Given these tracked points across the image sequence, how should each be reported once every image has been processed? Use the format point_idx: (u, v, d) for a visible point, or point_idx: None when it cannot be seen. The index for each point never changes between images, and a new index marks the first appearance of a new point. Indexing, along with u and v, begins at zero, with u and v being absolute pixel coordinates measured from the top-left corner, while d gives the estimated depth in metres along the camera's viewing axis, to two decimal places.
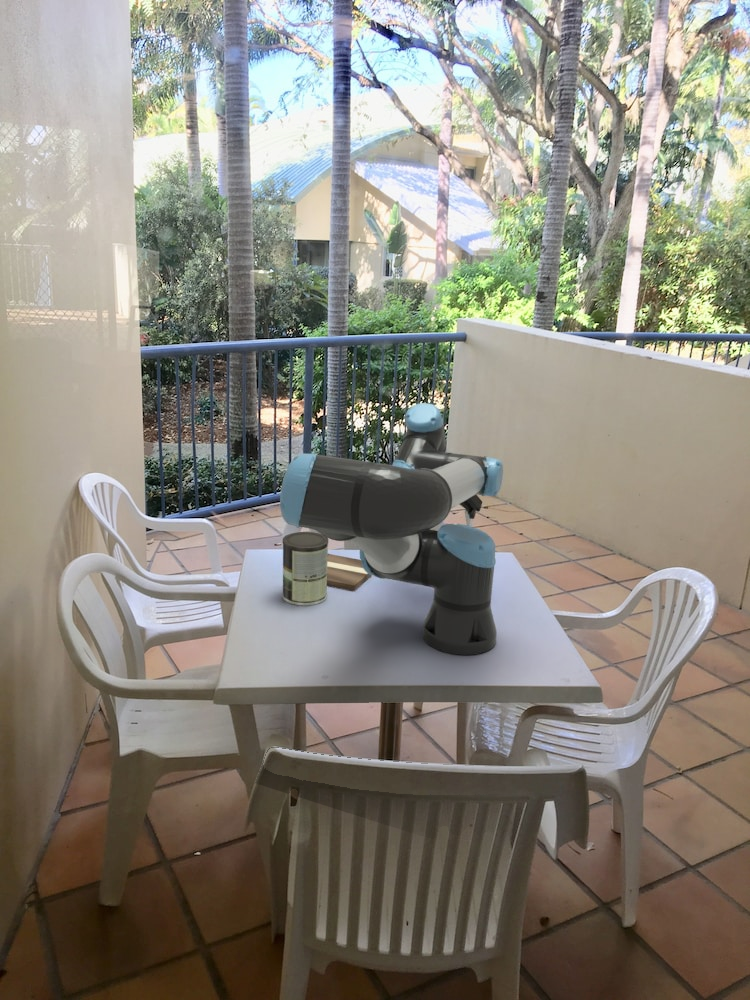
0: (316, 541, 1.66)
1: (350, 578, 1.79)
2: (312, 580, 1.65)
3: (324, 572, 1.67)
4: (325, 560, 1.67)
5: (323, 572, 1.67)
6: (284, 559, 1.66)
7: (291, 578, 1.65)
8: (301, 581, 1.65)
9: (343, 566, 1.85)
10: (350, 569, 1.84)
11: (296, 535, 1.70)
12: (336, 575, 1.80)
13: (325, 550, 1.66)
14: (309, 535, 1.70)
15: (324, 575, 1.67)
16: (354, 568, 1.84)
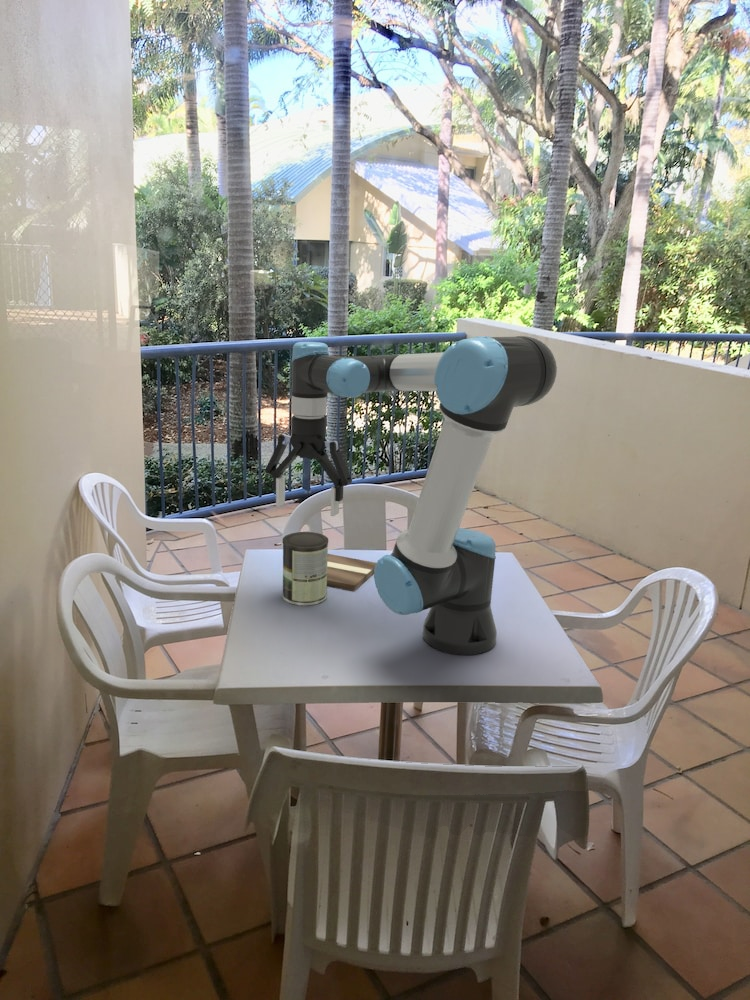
0: (316, 541, 1.66)
1: (350, 578, 1.79)
2: (312, 580, 1.65)
3: (324, 572, 1.67)
4: (325, 560, 1.67)
5: (323, 572, 1.67)
6: (284, 559, 1.66)
7: (291, 578, 1.65)
8: (301, 581, 1.65)
9: (343, 566, 1.85)
10: (350, 569, 1.84)
11: (296, 535, 1.70)
12: (336, 575, 1.80)
13: (325, 550, 1.66)
14: (309, 535, 1.70)
15: (324, 575, 1.67)
16: (354, 568, 1.84)
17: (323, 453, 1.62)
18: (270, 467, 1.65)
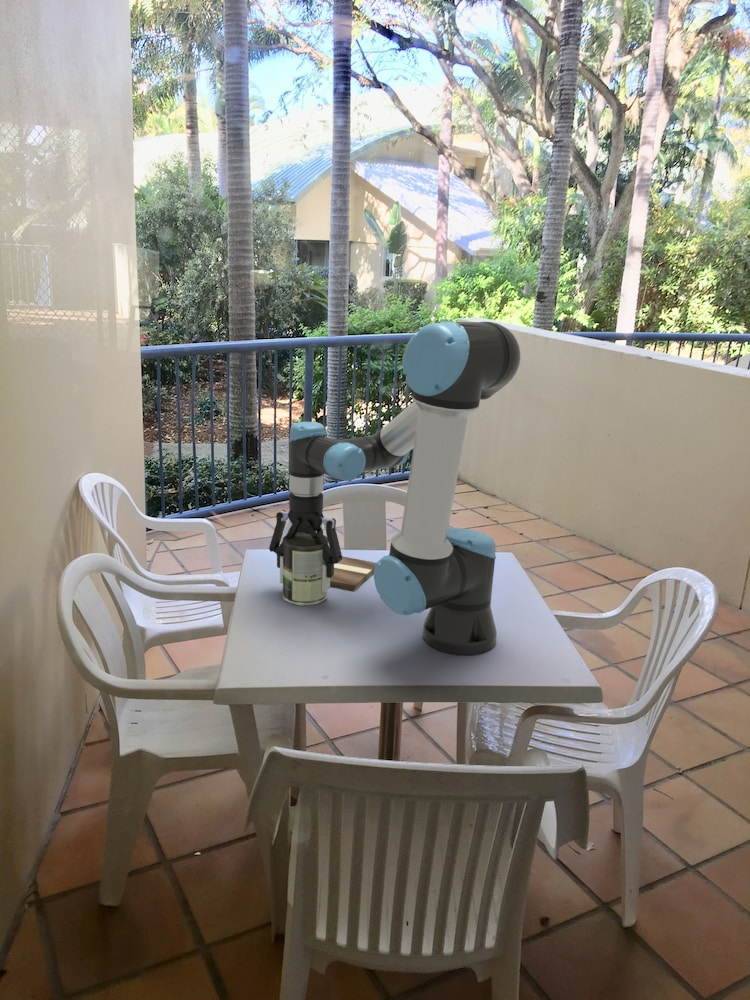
0: None
1: (350, 578, 1.79)
2: (313, 580, 1.65)
3: None
4: None
5: None
6: (284, 559, 1.66)
7: (291, 578, 1.65)
8: (301, 581, 1.65)
9: (343, 566, 1.85)
10: (350, 569, 1.84)
11: (296, 535, 1.70)
12: (336, 575, 1.80)
13: None
14: (309, 535, 1.70)
15: None
16: (354, 568, 1.84)
17: (320, 528, 1.66)
18: (273, 545, 1.69)
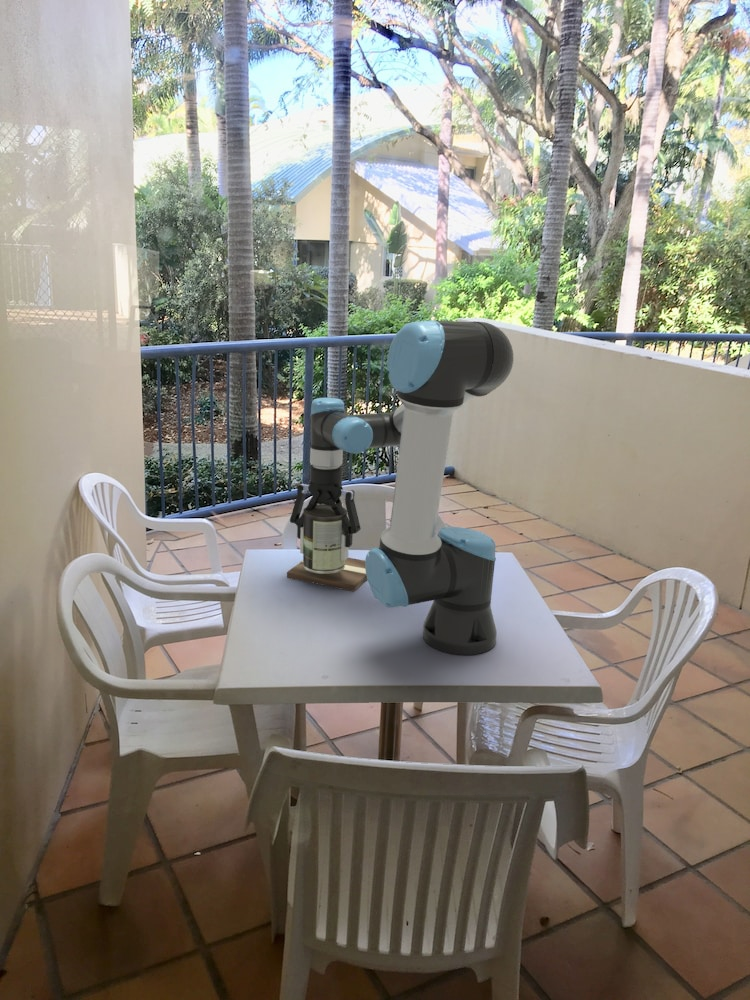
0: None
1: (350, 578, 1.79)
2: (332, 549, 1.73)
3: None
4: None
5: None
6: (305, 529, 1.74)
7: (312, 547, 1.73)
8: (321, 550, 1.73)
9: None
10: (350, 569, 1.84)
11: (316, 507, 1.78)
12: (336, 575, 1.80)
13: None
14: (328, 507, 1.78)
15: None
16: (354, 568, 1.84)
17: (339, 499, 1.74)
18: (294, 516, 1.77)
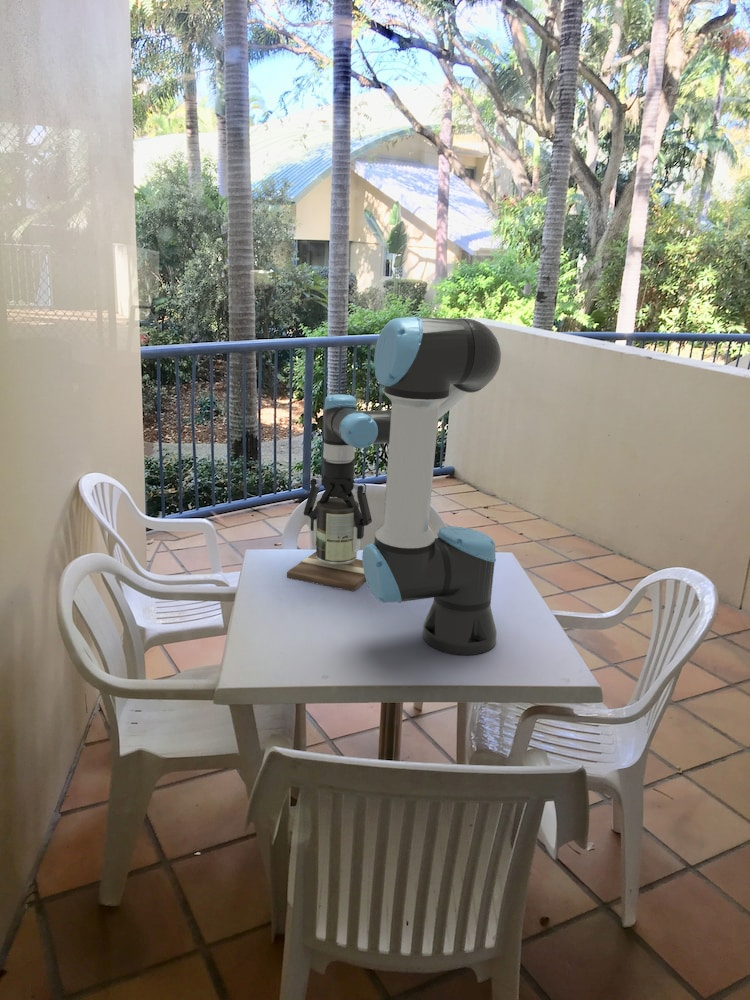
0: None
1: (350, 578, 1.79)
2: (344, 541, 1.79)
3: None
4: None
5: None
6: (318, 522, 1.80)
7: (325, 539, 1.79)
8: (334, 542, 1.79)
9: (343, 566, 1.85)
10: (350, 569, 1.84)
11: (328, 500, 1.84)
12: (336, 575, 1.80)
13: None
14: (340, 500, 1.84)
15: None
16: (354, 568, 1.84)
17: (351, 493, 1.80)
18: (308, 509, 1.83)
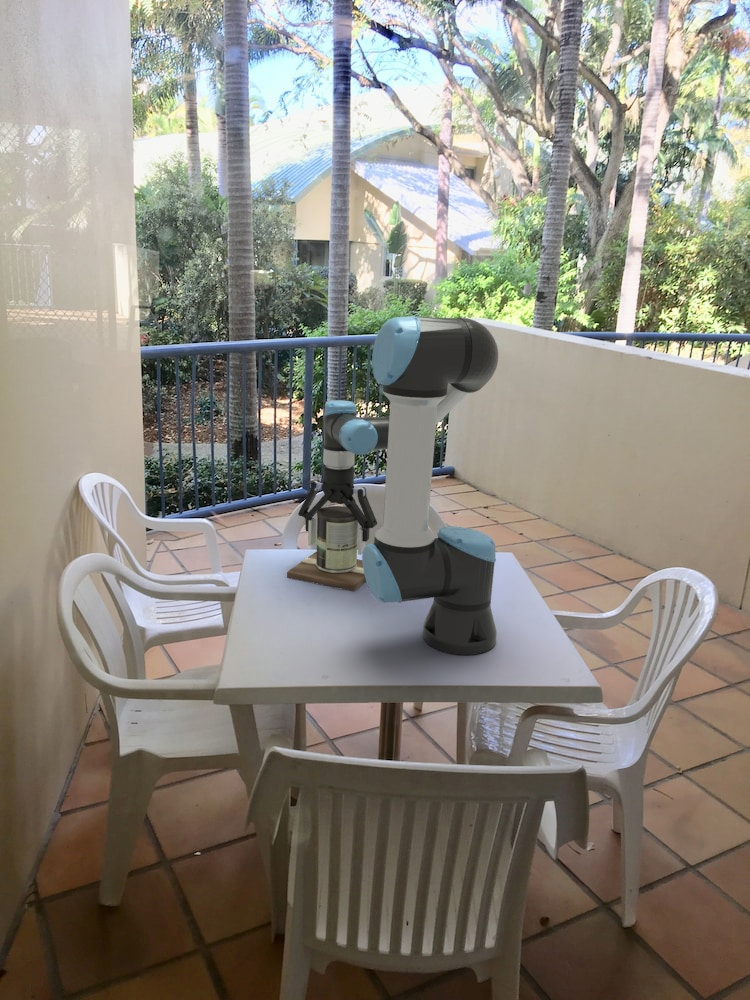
0: (348, 514, 1.81)
1: (350, 578, 1.79)
2: (345, 550, 1.80)
3: (355, 542, 1.82)
4: (356, 531, 1.81)
5: (354, 543, 1.81)
6: (318, 530, 1.81)
7: (325, 547, 1.80)
8: (334, 550, 1.79)
9: None
10: None
11: (329, 508, 1.85)
12: (336, 575, 1.80)
13: (356, 522, 1.80)
14: (341, 509, 1.85)
15: (355, 545, 1.82)
16: None
17: (351, 498, 1.81)
18: (303, 510, 1.84)
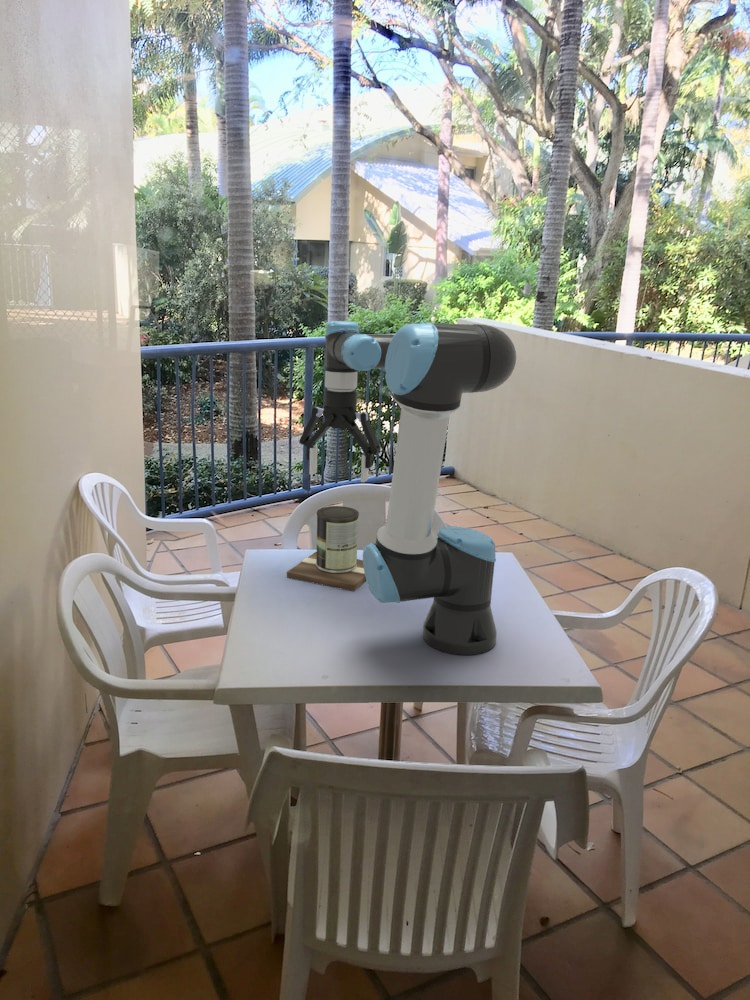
0: (348, 514, 1.81)
1: (350, 578, 1.79)
2: (344, 550, 1.80)
3: (355, 543, 1.82)
4: (356, 531, 1.81)
5: (354, 543, 1.81)
6: (318, 530, 1.81)
7: (325, 547, 1.80)
8: (334, 551, 1.79)
9: None
10: None
11: (329, 508, 1.85)
12: (336, 575, 1.80)
13: (356, 522, 1.80)
14: (341, 509, 1.85)
15: (354, 545, 1.82)
16: None
17: (354, 424, 1.76)
18: (304, 438, 1.79)
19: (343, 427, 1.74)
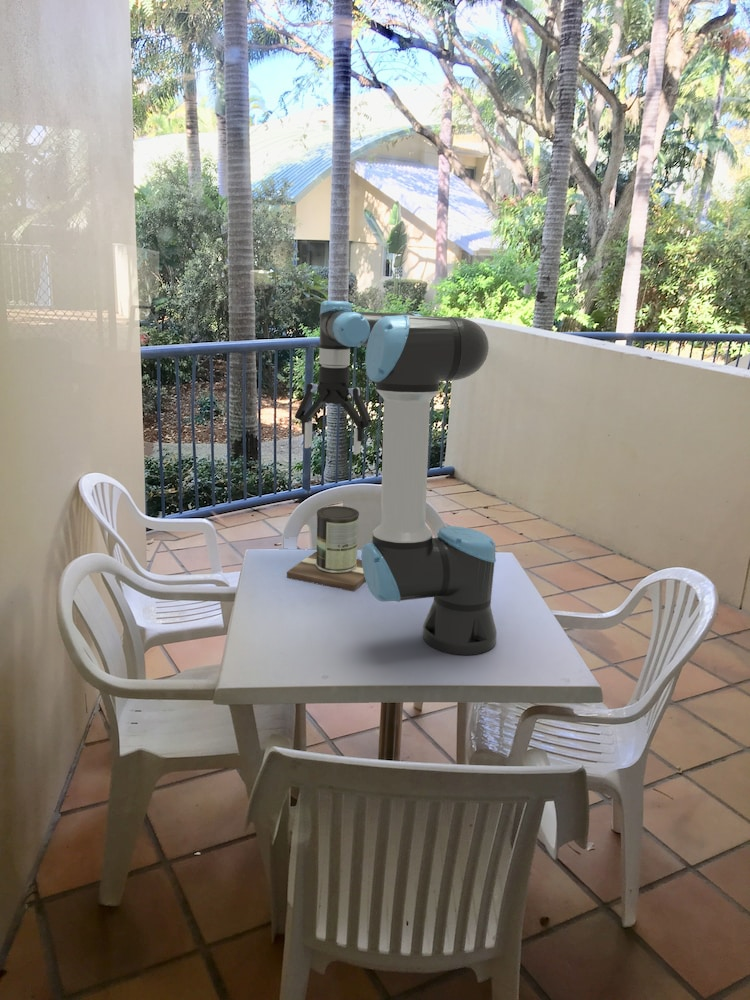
0: (348, 514, 1.81)
1: (350, 578, 1.79)
2: (344, 550, 1.80)
3: (355, 543, 1.82)
4: (356, 531, 1.81)
5: (354, 543, 1.81)
6: (318, 530, 1.81)
7: (325, 547, 1.80)
8: (334, 551, 1.79)
9: None
10: None
11: (329, 508, 1.85)
12: (336, 575, 1.80)
13: (356, 522, 1.80)
14: (341, 509, 1.85)
15: (354, 545, 1.82)
16: None
17: (346, 399, 1.85)
18: (299, 413, 1.88)
19: (336, 402, 1.83)
